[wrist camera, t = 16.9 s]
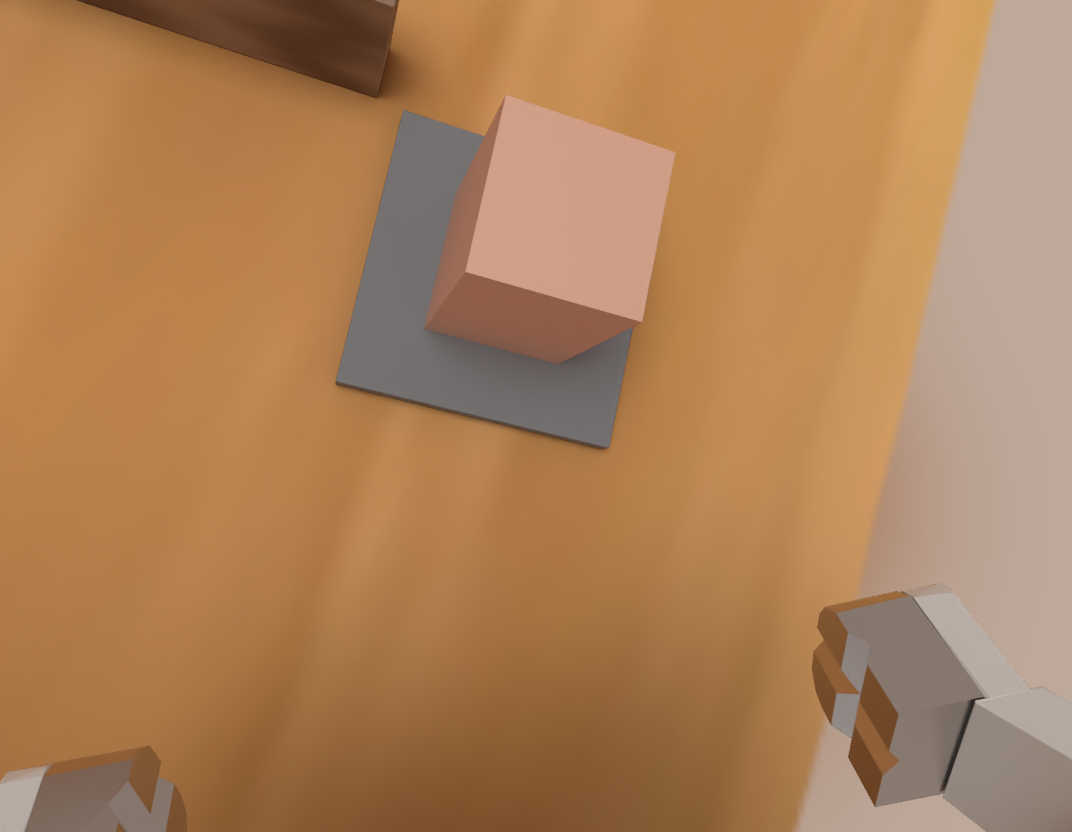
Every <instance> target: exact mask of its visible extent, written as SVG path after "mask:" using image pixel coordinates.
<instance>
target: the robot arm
mask: <svg viewBox="0 0 1072 832" xmlns="http://www.w3.org/2000/svg"><path fill="white" fill-rule="evenodd" d="M817 628H818V630H819V631H820V633H821V635H822V637H823V639H824V641H823V642H822V643H821V644H820V645H819V646H818V647H817V648H816V649H815V650H814V653H813V663H812V673H813V678H814V684H815V690H816V693H817V695H818V698H819V701H820V703H821V706H822V708H823V710H824V712H825V714H826V716H827V718H828V720H829V722H830V724H831V725H832V726H833V727H835V728H836V729H838V730H839V731H841V732H842V733H844V734H846V735H847V736H848V737H850V738H852V740H851V745H850V751H849V756H848V758H849V760H850V762H851V763H852V765H853V767H854V769H855V771H856V773H857V775H858V776H859V778H860V780H861V782H862V784H863V785H864V788H865V789H866V791H867V793H868V795H869V796H870V799H871V800H872V802H873V804H874V806H875V807H878V806H883V805H888V804H893V803H898V802H903V801H908V800H914V799H918V798H924V797H928V796H934V795H939V794H944V795H943V798H944V799H945V800H946V801H948V802H949V803H950V804H951V805H953V806H954V807H955V808H957V809H958V810H959V811H961V812H962V813H963V814H964V815H966V816H967V817H968V818H969V819H971V820H972V821H973V822H975V823H976V824H977V825H978V826H980V827H981V828H982V829H984V830H985V831H986V832H1072V702H1070V701H1068V700H1066V699H1065V698H1063V697H1060V696H1059V695H1057V694H1055V693H1053V692H1051V691H1049V690H1048V689H1046V688H1044V687H1036V688H1029V686H1028V685H1027V684H1026V683H1025V681H1024V680H1023V679H1022V678H1021V676H1020V675H1019V674H1018V673H1017V671H1016V670H1015V669H1014V668H1013V667H1012V665H1011V664H1010V663H1009V661H1008V660H1007V659H1006V658H1005V657H1004V655H1003V654H1002V653H1001V651H1000V650H999V649H998V648H997V646H996V645H995V644H994V643H993V641H992V640H991V639H990V638H989V636H988V635H987V634H986V633H985V631H984V630H983V629H982V628H981V626H980V625H979V624H978V623H977V621H976V620H975V619H974V618H973V616H972V615H971V614H970V613H969V611H968V610H967V609H966V608H965V606H964V605H963V604H962V603H961V601H960V600H959V599H958V598H957V596H956V595H955V594H954V593H953V592H952V590H951V589H950V588H948V587H946V586H945V585H943V584H934V585H929V586H925V587H920V588H916V589H910V590H906V591H902V592H898V591H895V592H891V593H887V594H882V595H877V596H873V597H869V598H864V599H859V600H854V601H850V602H845V603H841V604H836V605H832V606H827V607H825V608H824V609H823V610H822V611H821V612H820V614H819V620H818V626H817ZM160 765H161V761H160V759H159V758H158V757H157V755H156V754H155V752H154V751H153V749H152V748H151V746H146V747H140V748H134V749H129V750H123V751H118V752H112V753H107V754H101V755H95V756H90V757H84V758H79V759H73V760H68V761H62V762H56V763H50V764H45V765H40V766H35V767H30V768H25V769H20V770H15V771H10V772H7V774H6V775H5V776H4V777H3V778H2V780H1V781H0V832H187V822H186V811H185V807H184V804H183V800H182V796H181V794H180V793H179V791H178V789H177V787H176V786H175V784H174V783H171V782H169V781H166V780H164V779H162V778H159V777H158V775H159V770H160Z"/></svg>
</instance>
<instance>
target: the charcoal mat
mask: <svg viewBox="0 0 1072 832" xmlns="http://www.w3.org/2000/svg"><path fill="white" fill-rule="evenodd" d="M484 137H485V136H482V135H479V134H476V133H472V132H469V131H466V130H463V129H460V128H457V127H454V126H451V125H448V124H445V123H442V122H439V121H436V120H433V119H430V118H426V117H423V116H420V115H417V114H414V113H411V112H408V111H405V110H403V114H402V118H401V122H400V126H399V130H398V134H397V138H396V142H395V146H394V150H393V154H392V158H391V162H390V166H389V170H388V174H387V178H386V182H385V186H384V190H383V194H382V198H381V202H380V206H379V210H378V214H377V218H376V222H375V226H374V230H373V234H372V238H371V242H370V246H369V251H368V255H367V259H366V263H365V267H364V271H363V275H362V279H361V283H360V287H359V291H358V295H357V299H356V303H355V307H354V311H353V315H352V319H351V323H350V327H349V331H348V335H347V339H346V343H345V347H344V351H343V355H342V359H341V363H340V367H339V371H338V376H337V380H336V384H337V385H341V386H345V387H350V388H354V389H358V390H362V391H366V392H370V393H374V394H378V395H382V396H387V397H391V398H395V399H399V400H403V401H407V402H411V403H415V404H419V405H423V406H428V407H432V408H436V409H440V410H444V411H448V412H452V413H456V414H460V415H465V416H469V417H473V418H477V419H481V420H485V421H489V422H493V423H497V424H501V425H506V426H510V427H514V428H518V429H522V430H526V431H530V432H534V433H538V434H542V435H547V436H551V437H555V438H559V439H563V440H567V441H571V442H575V443H579V444H584V445H588V446H592V447H596V448H600V449H604V448H609V445H610V440H611V435H612V430H613V425H614V420H615V415H616V410H617V405H618V400H619V395H620V390H621V385H622V380H623V375H624V370H625V364H626V359H627V354H628V349H629V344H630V339H631V334H632V329H633V327H631V328H629V329H627V330H625V331H623V332H621V333H619V334H617V335H615V336H613V337H611V338H609V339H607V340H605V341H603V342H601V343H599V344H597V345H595V346H593V347H591V348H589V349H587V350H585V351H583V352H581V353H579V354H577V355H575V356H573V357H571V358H569V359H567V360H565V361H563V362H561V363H559V364H555V363H551V362H548V361H544V360H540V359H536V358H533V357H529V356H525V355H521V354H517V353H514V352H510V351H506V350H502V349H499V348H495V347H491V346H487V345H484V344H480V343H476V342H472V341H468V340H465V339H461V338H457V337H453V336H450V335H446V334H442V333H438V332H434V331H431V330H427V329H424V326H425V321H426V317H427V313H428V309H429V304H430V300H431V296H432V291H433V287H434V283H435V279H436V274H437V270H438V266H439V262H440V257H441V253H442V249H443V245H444V240H445V236H446V232H447V227H448V223H449V219H450V215H451V210H452V206H453V202H454V198H455V194H456V192H457V190H458V188H459V186H460V185H461V183H462V181H463V179H464V177H465V175H466V173H467V171H468V169H469V167H470V165H471V163H472V161H473V159H474V157H475V155H476V153H477V151H478V149H479V147H480V145H481V143H482V141H483V139H484Z"/></svg>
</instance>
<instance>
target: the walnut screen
mask: <svg viewBox="0 0 1072 832" xmlns="http://www.w3.org/2000/svg"><path fill="white" fill-rule="evenodd" d="M79 1H82V2H85V3H88V4H91V5H94V6H97V7H100V8H103V9H107V10H110V11H113V12H116V13H119V14H122V15H125V16H128V17H131V18H134V19H137V20H140V21H143V22H146V23H149V24H152V25H155V26H159V27H162V28H165V29H168V30H171V31H174V32H177V33H180V34H183V35H186V36H189V37H192V38H195V39H198V40H201V41H204V42H207V43H210V44H214V45H217V46H220V47H223V48H226V49H229V50H232V51H235V52H238V53H241V54H244V55H247V56H250V57H253V58H256V59H259V60H262V61H265V62H269V63H272V64H275V65H278V66H281V67H284V68H287V69H290V70H293V71H296V72H299V73H302V74H305V75H308V76H311V77H314V78H317V79H320V80H324V81H327V82H330V83H333V84H336V85H339V86H342V87H345V88H348V89H351V90H354V91H357V92H360V93H363V94H366V95H369V96H372V97H375V98H377V96H378V92H379V88H380V84H381V81H382V77H383V73H384V69H385V65H386V61H387V57H388V53H389V49H390V44H391V39H392V34H393V28H394V23H395V18H396V13H397V7H398V2H399V0H79Z"/></svg>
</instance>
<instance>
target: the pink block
mask: <svg viewBox="0 0 1072 832" xmlns="http://www.w3.org/2000/svg"><path fill="white" fill-rule="evenodd" d="M674 157H675V152H673V151H670V150H667V149H664V148H661V147H658V146H655V145H652V144H649V143H646V142H643V141H640V140H637V139H634V138H631V137H628V136H626V135H623V134H620V133H617V132H614V131H611V130H608V129H605V128H602V127H599V126H596V125H593V124H590V123H587V122H584V121H581V120H578V119H576V118H573V117H570V116H567V115H564V114H561V113H558V112H555V111H552V110H549V109H546V108H543V107H540V106H537V105H534V104H531V103H528V102H526V101H523V100H520V99H517V98H514V97H511V96H508V95H506V96H505V98H504V100H503V102H502V104H501V106H500V108H499V110H498V112H497V114H496V115H495V117H494V119H493V121H492V123H491V125H490V127H489V129H488V131H487V133H486V135H485V137H484V139H483V141H482V143H481V145H480V147H479V149H478V151H477V153H476V155H475V157H474V159H473V161H472V163H471V165H470V167H469V169H468V171H467V173H466V175H465V177H464V179H463V181H462V183H461V185H460V186H459V188H458V190H457V192H456V194H455V198H454V202H453V206H452V210H451V215H450V219H449V223H448V227H447V232H446V236H445V240H444V245H443V249H442V253H441V257H440V262H439V266H438V270H437V274H436V279H435V283H434V287H433V291H432V296H431V300H430V304H429V309H428V313H427V317H426V321H425V326H424V329H427V330H431V331H434V332H438V333H442V334H446V335H450V336H453V337H457V338H461V339H465V340H468V341H472V342H476V343H480V344H484V345H487V346H491V347H495V348H499V349H502V350H506V351H510V352H514V353H517V354H521V355H525V356H529V357H533V358H536V359H540V360H544V361H548V362H551V363H555V364H559V363H561V362H563V361H565V360H567V359H569V358H571V357H573V356H575V355H577V354H579V353H581V352H583V351H585V350H587V349H589V348H591V347H593V346H595V345H597V344H599V343H601V342H603V341H605V340H607V339H609V338H611V337H613V336H615V335H617V334H619V333H621V332H623V331H625V330H627V329H629V328H631V327H633V326H635V325H637V324H639V323H641V322H642V320H643V315H644V310H645V304H646V299H647V294H648V289H649V284H650V279H651V274H652V269H653V264H654V259H655V254H656V248H657V243H658V238H659V233H660V228H661V223H662V218H663V213H664V208H665V203H666V198H667V192H668V187H669V182H670V177H671V172H672V167H673V162H674Z"/></svg>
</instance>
